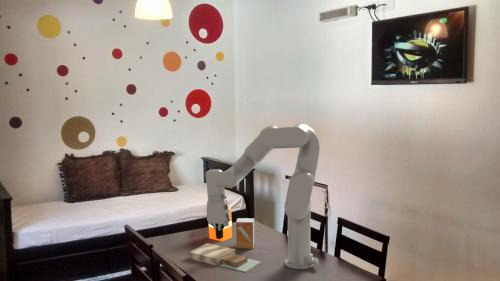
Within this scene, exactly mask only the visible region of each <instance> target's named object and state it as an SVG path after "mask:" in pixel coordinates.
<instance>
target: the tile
mask: <svg viewBox="0 0 500 281" xmlns="http://www.w3.org/2000/svg"><path fill="white" fill-rule="evenodd" d="M248 259H249V258H248V257H247V256H243V255H238V254H236V255H234V254H229V255H227V256H225V257H224V258H222V259H221V263H222V264H226V265H230V266H234V267H240V266H242V265H243V264H245V263H247V262H248Z"/></svg>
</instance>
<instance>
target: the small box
mask: <svg viewBox="0 0 500 281" xmlns="http://www.w3.org/2000/svg"><path fill="white" fill-rule="evenodd" d="M235 227H236V228H235V229H236V230H235V232H236V233H235V234H236V237H235V240H236V249H251V250H252V249H254V247H255V218H254V217H253V218H251V217H250V218H247V217H245V218H244V217H241V218H239V217H238V218H236V223H235Z"/></svg>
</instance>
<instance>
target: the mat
mask: <svg viewBox="0 0 500 281" xmlns="http://www.w3.org/2000/svg"><path fill="white" fill-rule="evenodd" d="M261 263H262V261H261V260H260V261H259V260H255V259H253V258H252V259H251V258H248V262H247V263H245V264H243V265H242V266H240V267H234V266H230V265H226V264H220V265H219V267H223V268H228V269H230V270H231V269H232V270H235V271H239V272H243V273H247V272H249V271H250V270H252V269H254V268H255V267H256V266H258V265H260V264H261Z"/></svg>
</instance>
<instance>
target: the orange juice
mask: <svg viewBox="0 0 500 281" xmlns="http://www.w3.org/2000/svg"><path fill="white" fill-rule="evenodd" d="M228 206H229V211H230V221H229V226H227V227H224V229H223V238H221V239H216V231H215V230H214V227H213V226H212V225H210V224H208V235H209V236H208V239H211V240H216V241H219V242H224V241H226V240H227V241H228V240H229V239H232V237H233V224H232V223H233V221H232V219H233V218H232V208H231V206H230V205H229V204H228Z"/></svg>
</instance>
